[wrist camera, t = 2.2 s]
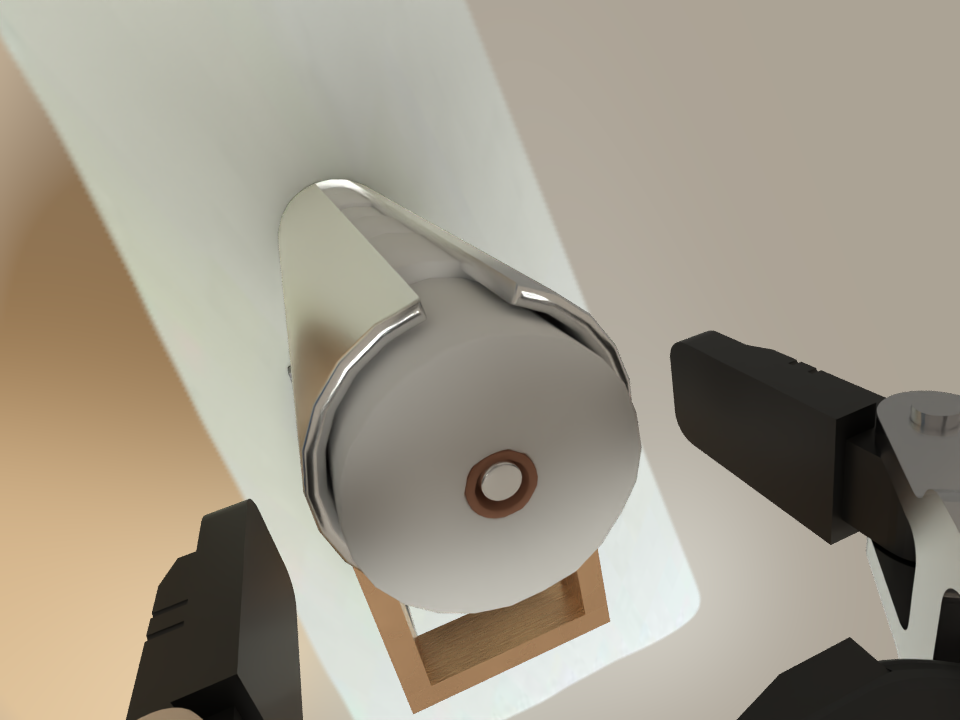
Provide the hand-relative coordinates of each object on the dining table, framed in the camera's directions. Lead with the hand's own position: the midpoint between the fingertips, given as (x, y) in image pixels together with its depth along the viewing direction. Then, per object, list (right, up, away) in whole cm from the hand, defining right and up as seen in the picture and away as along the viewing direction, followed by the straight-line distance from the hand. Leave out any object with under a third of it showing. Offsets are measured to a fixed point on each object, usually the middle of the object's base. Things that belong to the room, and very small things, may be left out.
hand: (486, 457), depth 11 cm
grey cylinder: (-8, +8, +22) cm, 24 cm away
